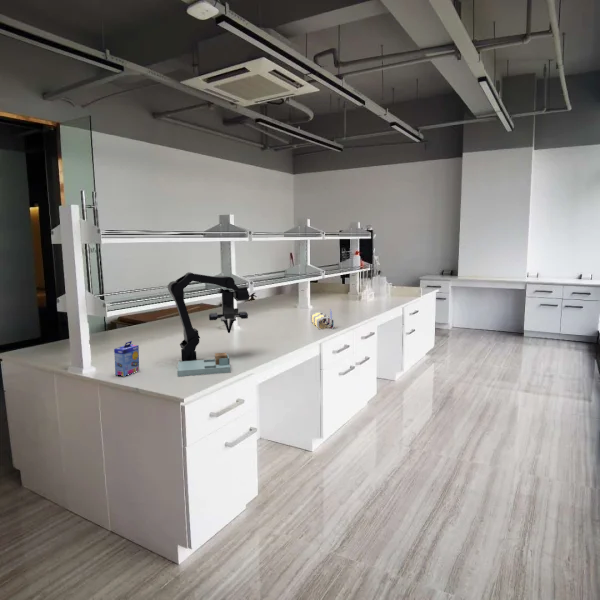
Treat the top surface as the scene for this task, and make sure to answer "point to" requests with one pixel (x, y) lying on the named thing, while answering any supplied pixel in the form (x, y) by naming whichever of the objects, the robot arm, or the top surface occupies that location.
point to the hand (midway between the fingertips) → (228, 332)
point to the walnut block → (219, 357)
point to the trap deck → (203, 367)
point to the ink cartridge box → (126, 359)
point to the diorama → (321, 318)
